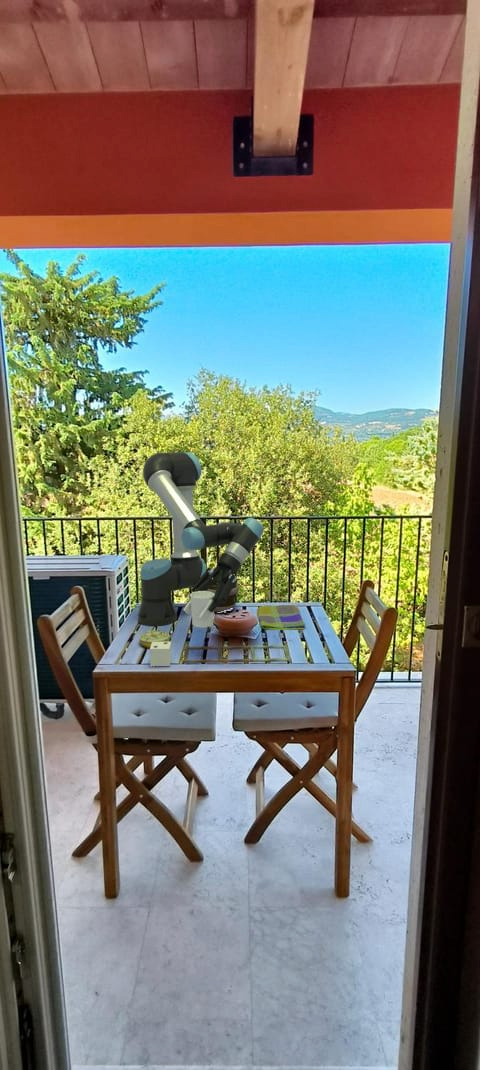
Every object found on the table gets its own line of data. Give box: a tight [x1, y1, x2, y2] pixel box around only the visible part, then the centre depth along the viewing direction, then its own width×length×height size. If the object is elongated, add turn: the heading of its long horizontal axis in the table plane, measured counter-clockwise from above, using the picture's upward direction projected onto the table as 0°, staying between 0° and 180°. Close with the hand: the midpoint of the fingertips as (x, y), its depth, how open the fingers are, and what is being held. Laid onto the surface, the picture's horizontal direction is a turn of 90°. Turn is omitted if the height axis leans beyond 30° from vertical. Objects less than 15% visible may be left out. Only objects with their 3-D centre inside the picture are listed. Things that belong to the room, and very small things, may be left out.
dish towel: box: [256, 604, 306, 631], centre depth 211 cm, size 18×24×3 cm
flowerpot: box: [207, 562, 240, 614], centre depth 221 cm, size 14×15×20 cm
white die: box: [149, 641, 173, 668], centre depth 169 cm, size 6×6×6 cm
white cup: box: [189, 591, 215, 628], centre depth 173 cm, size 8×8×10 cm
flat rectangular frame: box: [182, 644, 291, 664], centre depth 176 cm, size 34×12×1 cm, turn 92°
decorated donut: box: [138, 629, 171, 649], centre depth 186 cm, size 10×11×4 cm
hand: (194, 615), depth 171 cm, fingers closed on white cup, 8 cm apart
